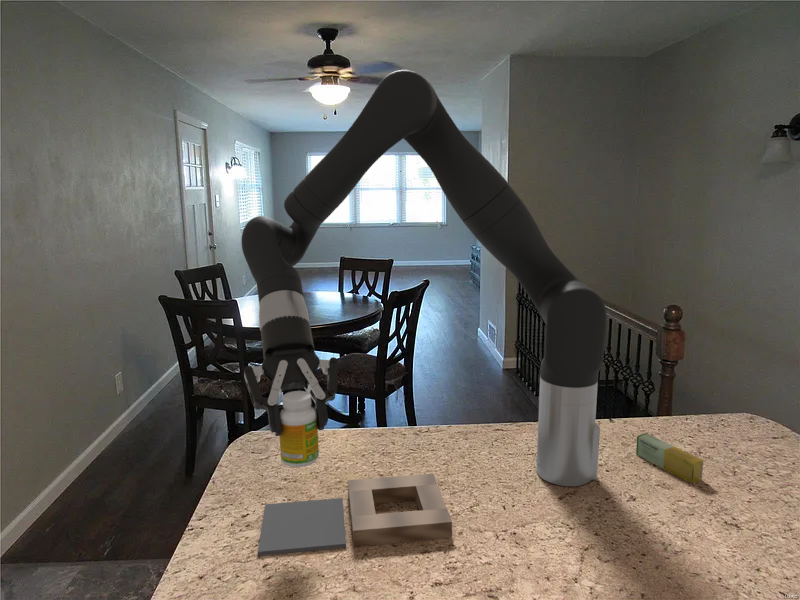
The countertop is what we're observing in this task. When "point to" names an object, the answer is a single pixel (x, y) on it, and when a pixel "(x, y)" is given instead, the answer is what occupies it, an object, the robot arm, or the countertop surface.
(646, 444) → the medication box
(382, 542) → the walnut socket
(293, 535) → the rubber mat
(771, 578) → the countertop surface
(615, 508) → the countertop surface
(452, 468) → the countertop surface
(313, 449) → the supplement bottle
